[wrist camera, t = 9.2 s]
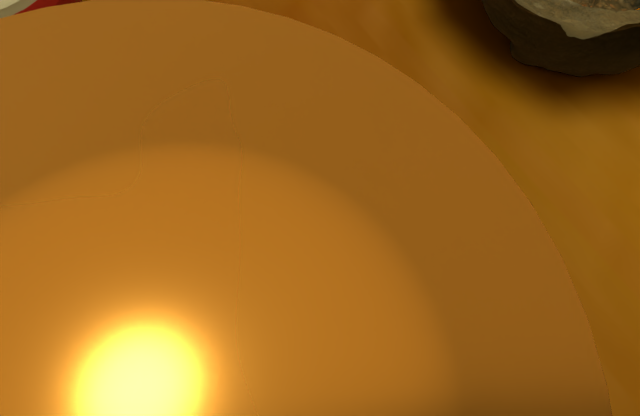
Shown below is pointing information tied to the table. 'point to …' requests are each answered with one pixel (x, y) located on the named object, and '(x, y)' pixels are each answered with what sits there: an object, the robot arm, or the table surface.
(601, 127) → the table surface
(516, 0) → the stone bowl
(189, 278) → the pin
